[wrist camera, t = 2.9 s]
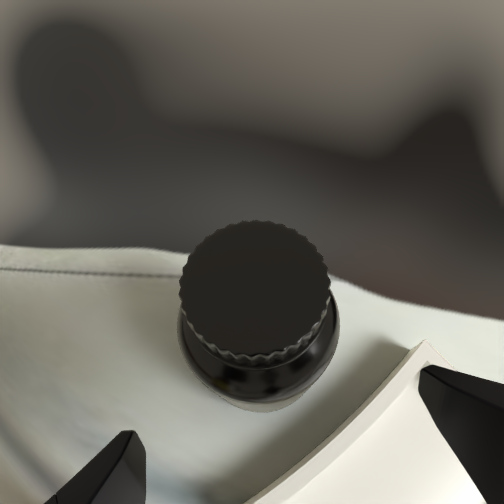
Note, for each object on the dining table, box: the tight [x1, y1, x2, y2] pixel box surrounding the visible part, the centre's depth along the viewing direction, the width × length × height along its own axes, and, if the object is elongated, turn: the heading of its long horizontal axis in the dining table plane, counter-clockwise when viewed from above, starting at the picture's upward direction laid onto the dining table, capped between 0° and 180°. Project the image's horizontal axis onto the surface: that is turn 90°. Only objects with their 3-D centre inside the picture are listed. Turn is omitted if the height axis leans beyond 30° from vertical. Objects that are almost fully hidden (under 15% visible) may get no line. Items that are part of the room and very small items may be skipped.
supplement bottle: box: [177, 220, 340, 412], centre depth 15 cm, size 7×7×12 cm
